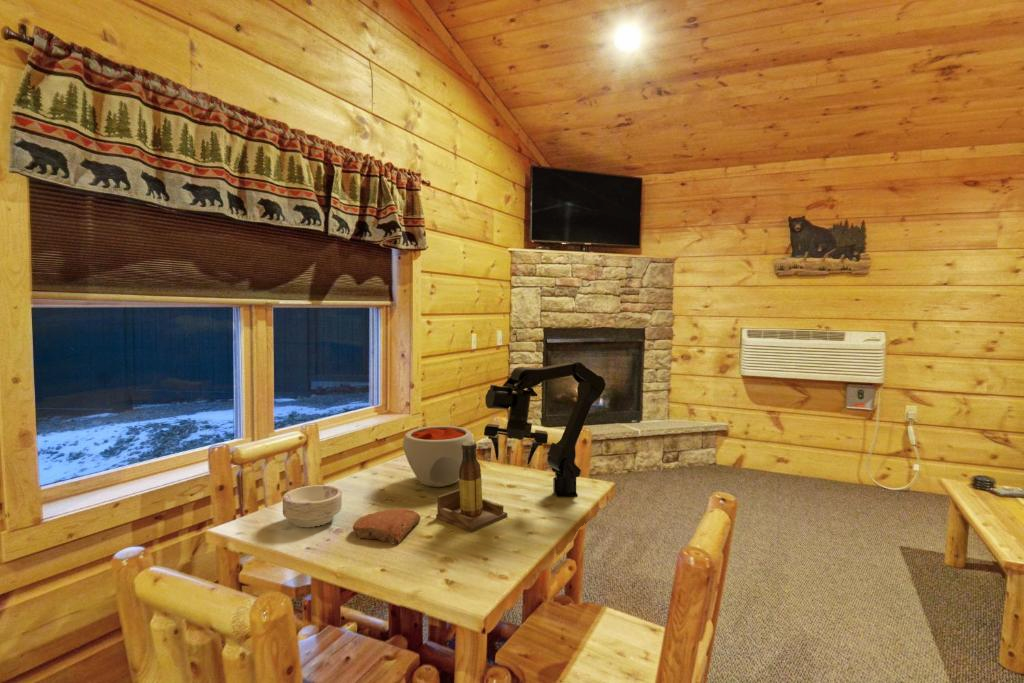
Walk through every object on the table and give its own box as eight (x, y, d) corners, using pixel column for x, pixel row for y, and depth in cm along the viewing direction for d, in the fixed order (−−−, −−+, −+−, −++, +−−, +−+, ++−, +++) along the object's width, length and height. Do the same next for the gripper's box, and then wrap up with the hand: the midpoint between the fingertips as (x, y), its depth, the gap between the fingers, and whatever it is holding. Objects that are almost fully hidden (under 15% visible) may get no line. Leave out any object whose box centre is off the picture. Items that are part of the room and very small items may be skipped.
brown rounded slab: (373, 499, 150) (423, 511, 147) (369, 522, 150) (419, 535, 147) (347, 512, 136) (402, 526, 133) (342, 537, 136) (397, 552, 133)
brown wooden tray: (507, 516, 151) (507, 495, 150) (471, 532, 140) (471, 509, 140) (472, 504, 160) (472, 484, 160) (436, 518, 150) (435, 496, 149)
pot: (488, 477, 185) (487, 426, 183) (449, 500, 163) (448, 442, 162) (430, 468, 195) (430, 419, 194) (386, 488, 174) (386, 433, 173)
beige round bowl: (353, 514, 152) (352, 486, 152) (318, 536, 138) (318, 506, 137) (308, 508, 157) (307, 481, 157) (270, 528, 143) (269, 499, 142)
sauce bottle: (477, 507, 155) (476, 439, 154) (486, 514, 149) (486, 444, 148) (455, 511, 152) (455, 441, 151) (464, 519, 146) (463, 447, 145)
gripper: (485, 409, 152) (478, 464, 152) (550, 418, 151) (544, 473, 151) (489, 404, 163) (482, 455, 163) (550, 412, 162) (543, 464, 162)
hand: (512, 462), depth 160 cm, fingers open, 9 cm apart
